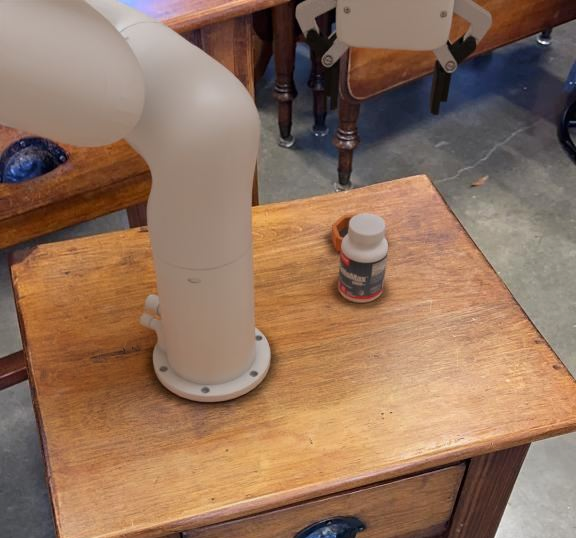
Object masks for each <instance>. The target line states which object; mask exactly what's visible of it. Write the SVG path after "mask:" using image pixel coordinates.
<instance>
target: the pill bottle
mask: <svg viewBox="0 0 576 538" xmlns="http://www.w3.org/2000/svg"><path fill="white" fill-rule="evenodd" d="M356 214H357V215H355V216H354V217H352V218H351V219H350V222H349V228H348V234H347V235H346V236H345V237H344V238H343V240H342V243H341V252H339V253H340V254H339V265H338V266H339V267H338V277H337V278H338V279H337V280H338V281H337V289H338V292H339V294H340V295H341V296H342V297H343V298H345V299H347V300H348V301H351V302H353V303H360V304H361V303H362V304H363V303H370V302H372V301H373V302H374V301H375V300H377V299H378V298H379V297H380V296H381V295H382V293H383V290H384V284H385V278H386V277H385V276H386V269H387V263H388V254H389V243H388V240H387V239H386V237H385V236H386V225H387V224H386V221H385V220H384V219H383V218H382V217H381V216H379V215H377V214H376V213H370V212H362V213H356Z"/></svg>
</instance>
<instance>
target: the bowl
mask: <svg viewBox="0 0 576 538" xmlns="http://www.w3.org/2000/svg"><path fill="white" fill-rule="evenodd" d="M357 214H358V213H353V214H347V215H342V216H341V217H339V218H338V219H337V220H336V221H335V222H334V223H333V224H332V225H331V237H330V239H331V241H332V244H333V246H334V249H335V250H336V252H339V253H341V243H342V240H343V238H344V237H345V236H346V235H347V234H348V228H349V222H350V219H351V218H352V217H354V216H355V215H357Z"/></svg>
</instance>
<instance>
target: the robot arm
mask: <svg viewBox="0 0 576 538" xmlns="http://www.w3.org/2000/svg"><path fill="white" fill-rule="evenodd" d="M334 9H335V29H334V30H333V31H332V33H330V35H329V36H327V35H326V33H324V31H323V30H322V29H321V28H320V27H319V26H318V24H317V21H316V18H317V17H319V16H321V15H323V14H325V13H327V12H329V11H331V10H334ZM454 14H455V15H457V16H458V17H459V18H461V19H462V20H464V21H466V22H467V23H469V24H470V26H469V27H468V29H467V31H466V32H464V33H462V35H461V36H460V37H459V38H458V39H456V40H455V41H454V42H452V41H451V40H450V38H449V37H450V34H451V29H452V22H453V15H454ZM492 18H493V17H492V15H491V12H489V11H488V10H487V9H485V8H484V7H482V6H480V5H479V4H478V3H477V2H475V1H474V0H304V1H302V2H300V3H298V4H297V5H296V8H295V19H296V21H297V23H298V25H299V28H300V30H301V32H302V34H303V36H304V38H305V42H306V44H307V45H308V47H309V48H310V49H311V50H312V51H313V52H314V54H316V56H317V57H318V58H319V59H320V60H321V64H322V65H323V66H324V73H323V91H322V92H323V93H322V97H328V98H329V97H330V100H329V111H336V110H337V109H338V103H339V101H338V100H339V88H340V87H339V86H340V69H341V57H342V56H343V54H345V52H347V51H348V49H350V47H351V48H357V49H358V48H360V49H376V50H378V49H379V50H397V51H423V52H424V51H431V52H432V53H433V55H434V56H435V58H436V59H435V61H434V68H433V73H432V81H431V87H430V93H429V111H430V114H431V115H432V116H439V114H440V108H441V103H447V102H448V98H449V91H450V85H451V79H452V73H453V72H455V71H456V70H457V68H458V65H460V64H461V63H462V62H463V61H465V60H466V59H467V58H468V57H469V56H471V55H472V54H473V53H474V52H475V51H476V49H477V46H478V44H479V43H480V42H481V41H482V40H483V39H484V37H485V35H486V34H487V33H488V31H489V30H490V29H491V27H492V25H493V19H492ZM0 125H1V126H5V127H8V128H12V129H15V130H19V131H22V132H26V133H30V134H32V135H35V136H40V137H42V138H45V139H49V140H52V141H55V142H58V143H61V144H64V145H65V144H66V145H68V146H72V147H81V148H98V147H105V146H109V145H111V144H115V143H117V142H119V141H120V140H122V139H123V140H124V141H125V142H126V143H127V144H128V145H129V146H130V147H131V148H132V149H133V150H134V151H135V152H136V153H137V154H138V155H140V156H141V157H142V159H143V160H144V161H145V163H146V165H147V166H148V168H149V171H150V174H151V189H150V192H149V195H148V199H147V203H146V225H147V233H148V239H149V245H150V250H151V256H152V261H153V262H152V264H153V269H154V276H155V277H154V278H155V281H156V282H155V283H156V288H157V289H156V290H157V294H155V293H150V294H149V295H148V296H147V297H146V299H145V301H144V309H145V310H146V311H148V312H150V313H152V314H154V315H156V316H159V317H161V318H160V319H159V318H157V317H155V316H153V315H152V314H149V313H147V312H144V313H142V314H141V316H140V317H139V323H140V325H141V326H143V327H145V328H147V329H149V330H153V331H154V332H155V334H156V337H157V342H156V343H155V346H154V348H153V351H152V352H153V353H152V363H153V369H154V373H155V375H156V377H157V379H158V380H159V382H160V383H161V385H163V386H164V387H165V389H167V390H168V391H170V392H171V393H173V394H175V395H176V396H178V397H181V398H184V399H187V400H190V401H196V402H200V403H216V402H224V401H229V400H233V399H236V398H239V397H241V396H244V395H245V394H247V393H249V392H250V391H252V390H254V389H255V388H256V387H257V386H259V385H260V384H261V383H262V381H263V380H264V379H265V377H266V376H267V374H268V373H269V370H270V368H271V360H272V359H271V357H272V356H271V348H270V347H271V346H270V344H269V341H268V339H267V338H266V335H264V333H263V332H262V331H261V330H260V329H259V328H258V327H256V305H255V301H256V300H255V274H254V273H255V272H254V242H253V240H254V239H253V222H252V221H253V215H252V214H253V213H252V211H253V208H252V207H253V188H254V187H253V186H254V177H255V170H256V166H257V160H258V156H259V149H260V143H261V120H260V115H259V111H258V108H257V105H256V103H255V101H254V98H253V97H252V95H251V94H250V92H249V91H248V88H246V87H245V86H244V84H243V82H241V80H240V79H239V78H237V77H236V76H235V74H233V73H232V72H231V70H229V69H228V68H227V67H225V66H224V65H223V64H222V63H220V62H219V61H217V59H215V58H214V57H212V56H210V55H209V54H208V53H206V52H205V51H204V50H203V49H201V48H200V47H198V46H197V45H195V44H193V43H191V42H190V41H188V40H187V39H186V38H185V37H183V36H182V35H181V34H179V33H178V32H177V31H175V30H173V29H172V28H170V27H169V26H168V25H166V24H165V23H164V22H162V21H161V20H158V19H156V18H155V17H154V16H151V15H149V14H147V13H145V12H143V11H141V10H138V9H137V8H134V7H132V6H129V5H128V4H125V3H124V2H121V1H118V0H0Z"/></svg>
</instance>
